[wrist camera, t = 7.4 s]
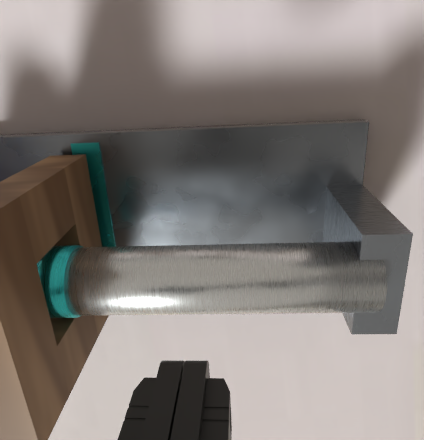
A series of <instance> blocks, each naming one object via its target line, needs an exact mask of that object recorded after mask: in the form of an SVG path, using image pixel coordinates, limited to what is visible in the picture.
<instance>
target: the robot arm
mask: <svg viewBox="0 0 424 440" xmlns="http://www.w3.org/2000/svg"><path fill="white" fill-rule="evenodd" d="M231 431H232V425H231V404H230V391H229V389H228V387H227V385H226V382H225V380H224V379H219V378H210V375H209V363H208V361H161V363H160V366H159V370H158V374H157V378H144V379H143V380H142V381H141V382H140V384H139V385H138V386H137V387H136V389H135V390H134V391H133V395H132V398H131V401H130V404H129V408H128V410H127V413H126V416H125V421H124V422H123V425H122V428H121V431H120V434H119V437H118V440H231Z"/></svg>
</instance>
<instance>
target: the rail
mask: <svg viewBox="0 0 424 440" xmlns="http://www.w3.org/2000/svg"><path fill="white" fill-rule="evenodd" d="M368 127H369V122H368V121H366V120H347V121H323V122H300V123H276V124H253V125H229V126H206V127H182V128H158V129H135V130H111V131H88V132H64V133H41V134H17V135H0V182H1V181H3V180H5V179H7V178H8V177H10V176H12V175H14V174H16V173H18V172H20V171H22V170H24V169H26V168H28V167H30V166H32V165H34V164H35V163H37V162H39V161H41V160H43V159H45V158H47V157H49V156H56V155H82V154H86V159H87V164H88V170H89V176H90V181H91V187H92V193H93V198H94V204H95V210H96V215H97V221H98V227H99V232H100V238H101V244H102V247H83V246H80V245H73V246H53V247H52V248H51V249H50V250H49V251H48V252H47V254H46V255H45V256H44V257H43V258H42V259H41V260H40V261H39V262H38V263H37V268H38V272H39V276H40V280H41V284H42V288H43V292H44V296H45V300H46V304H47V308H48V312H49V316H50V318H78V317H80V316H81V315H182V314H283V313H343V315H344V318H345V320H346V322H347V325H348V327H349V329H350V332H351V334H397V328H398V322H399V315H400V309H401V303H402V297H403V291H404V285H405V279H406V273H407V266H408V260H409V254H410V248H411V242H412V236H413V234H412V233H411V232H410V231H409V230H408V229H407V228H406V227H405V226H404V225H403V224H402V223H401V222H400V221H399V220H398V219H397V218H396V217H395V216H394V215H393V214H392V213H391V212H390V211H389V210H388V209H387V208H386V207H384V206H383V205H382V204H381V203H380V202H379V201H378V200H377V199H376V198H375V197H374V196H373V195H372V194H371V193H370V192H369V191H368V190H367V189H366V188H365V187H364V186H363V175H364V166H365V156H366V146H367V137H368Z"/></svg>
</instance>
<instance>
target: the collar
mask: <svg viewBox="0 0 424 440" xmlns="http://www.w3.org/2000/svg"><path fill="white" fill-rule="evenodd" d="M73 245H80V246H83V247H102V244H101V238H100V232H99V227H98V221H97V215H96V210H95V204H94V198H93V193H92V187H91V181H90V176H89V170H88V164H87V159H86V154H82V155H56V156H49V157H47V158H45V159H43V160H41V161H39V162H37V163H35V164H34V165H32V166H30V167H28V168H26V169H24V170H22V171H20V172H18V173H16V174H14V175H12V176H10V177H8V178H7V179H5V180H3V181H1V182H0V440H48V438H49V436H50V434H51V432H52V430H53V428H54V426H55V424H56V422H57V419H58V417H59V415H60V413H61V411H62V409H63V407H64V405H65V403H66V401H67V399H68V397H69V395H70V393H71V391H72V389H73V387H74V385H75V383H76V381H77V379H78V377H79V375H80V373H81V371H82V369H83V366H84V364H85V362H86V360H87V358H88V356H89V354H90V352H91V350H92V348H93V346H94V344H95V342H96V340H97V338H98V336H99V334H100V332H101V330H102V328H103V326H104V324H105V322H106V320H107V318H108V316H109V315H81V316H80V317H78V318H50V316H49V312H48V308H47V304H46V300H45V296H44V292H43V288H42V284H41V280H40V276H39V272H38V268H37V263H38V262H39V261H40V260H41V259H42V258H43V257H44V256H45V255H46V254H47V252H48V251H49V250H50V249H51V248H52V247H53V246H73Z"/></svg>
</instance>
